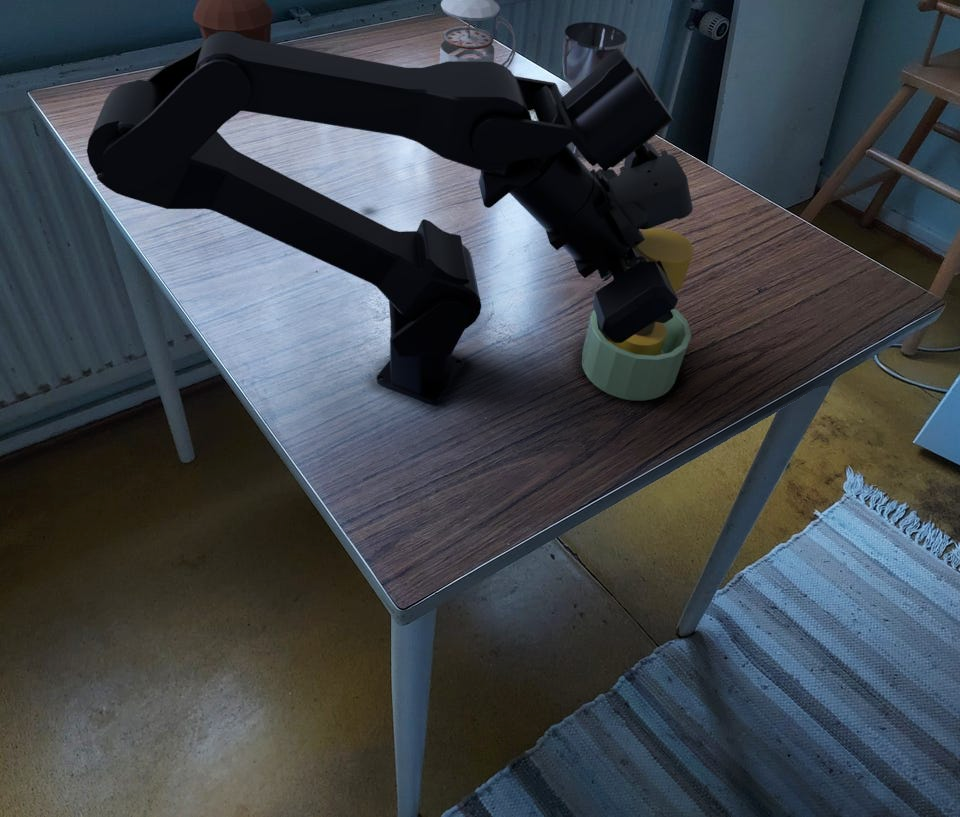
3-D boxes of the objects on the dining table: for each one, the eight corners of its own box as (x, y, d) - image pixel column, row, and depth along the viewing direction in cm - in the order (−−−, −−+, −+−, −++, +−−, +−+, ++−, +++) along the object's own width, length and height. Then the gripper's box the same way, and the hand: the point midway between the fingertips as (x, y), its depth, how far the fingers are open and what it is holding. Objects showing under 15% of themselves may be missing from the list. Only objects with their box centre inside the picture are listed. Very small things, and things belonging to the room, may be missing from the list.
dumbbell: (608, 369, 76) (638, 259, 67) (603, 334, 80) (631, 225, 70) (661, 373, 76) (698, 264, 67) (654, 338, 80) (688, 230, 71)
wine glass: (539, 147, 109) (554, 36, 98) (562, 125, 114) (579, 17, 103) (592, 164, 107) (613, 52, 96) (613, 140, 112) (635, 32, 101)
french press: (431, 86, 120) (436, -103, 102) (507, 91, 121) (525, -96, 103) (431, 117, 113) (437, -80, 95) (511, 121, 114) (532, -74, 96)
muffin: (212, 80, 116) (199, 9, 109) (192, 51, 122) (178, -19, 115) (289, 69, 120) (282, -1, 113) (266, 41, 127) (258, -27, 120)
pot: (662, 413, 75) (676, 372, 71) (568, 380, 77) (577, 338, 73) (686, 354, 81) (700, 312, 77) (598, 324, 84) (608, 283, 80)
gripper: (684, 199, 54) (777, 318, 64) (618, 80, 67) (704, 194, 76) (556, 291, 59) (660, 389, 68) (517, 163, 71) (610, 261, 81)
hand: (660, 302), depth 73 cm, fingers closed on dumbbell, 5 cm apart
